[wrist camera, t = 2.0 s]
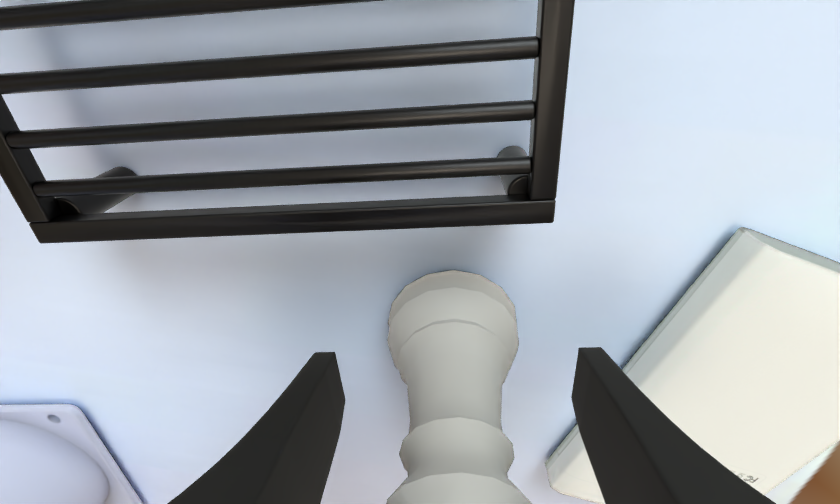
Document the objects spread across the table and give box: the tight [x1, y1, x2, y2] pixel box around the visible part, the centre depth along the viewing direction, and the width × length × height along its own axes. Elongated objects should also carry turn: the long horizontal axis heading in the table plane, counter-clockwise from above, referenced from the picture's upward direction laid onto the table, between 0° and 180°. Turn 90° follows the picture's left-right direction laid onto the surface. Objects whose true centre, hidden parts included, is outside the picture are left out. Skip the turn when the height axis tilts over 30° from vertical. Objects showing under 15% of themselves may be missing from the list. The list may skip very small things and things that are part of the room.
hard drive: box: [545, 227, 840, 504], centre depth 16 cm, size 2×8×12 cm
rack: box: [0, 0, 575, 243], centre depth 9 cm, size 13×10×3 cm
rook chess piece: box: [386, 270, 532, 504], centre depth 12 cm, size 4×4×8 cm
